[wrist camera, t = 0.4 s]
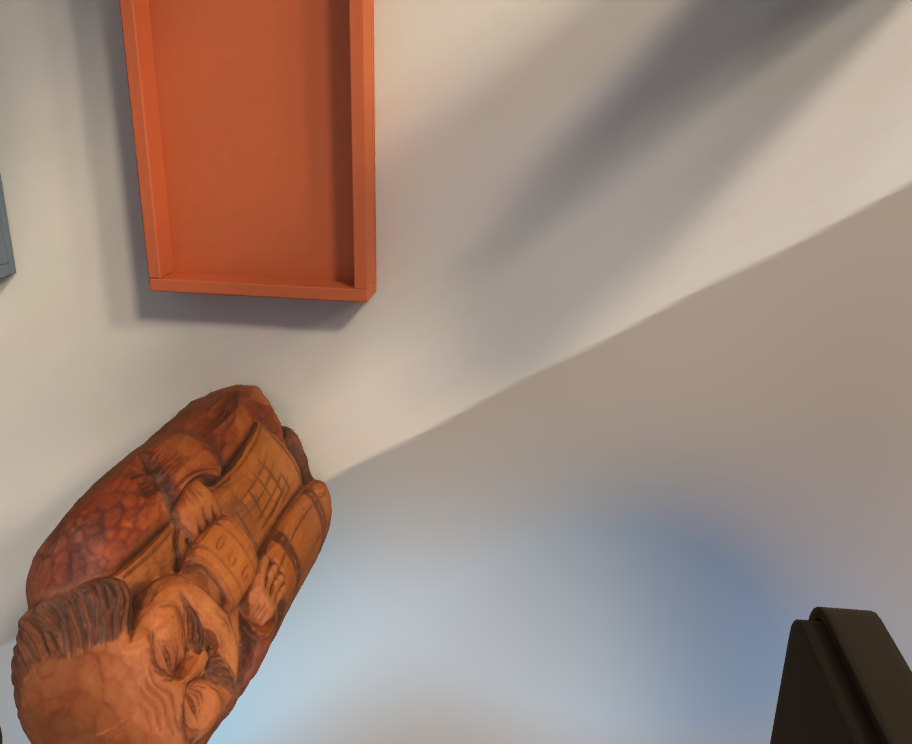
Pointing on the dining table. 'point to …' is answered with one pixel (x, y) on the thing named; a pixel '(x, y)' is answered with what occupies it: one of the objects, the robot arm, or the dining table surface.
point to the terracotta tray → (255, 145)
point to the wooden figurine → (169, 580)
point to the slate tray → (5, 241)
